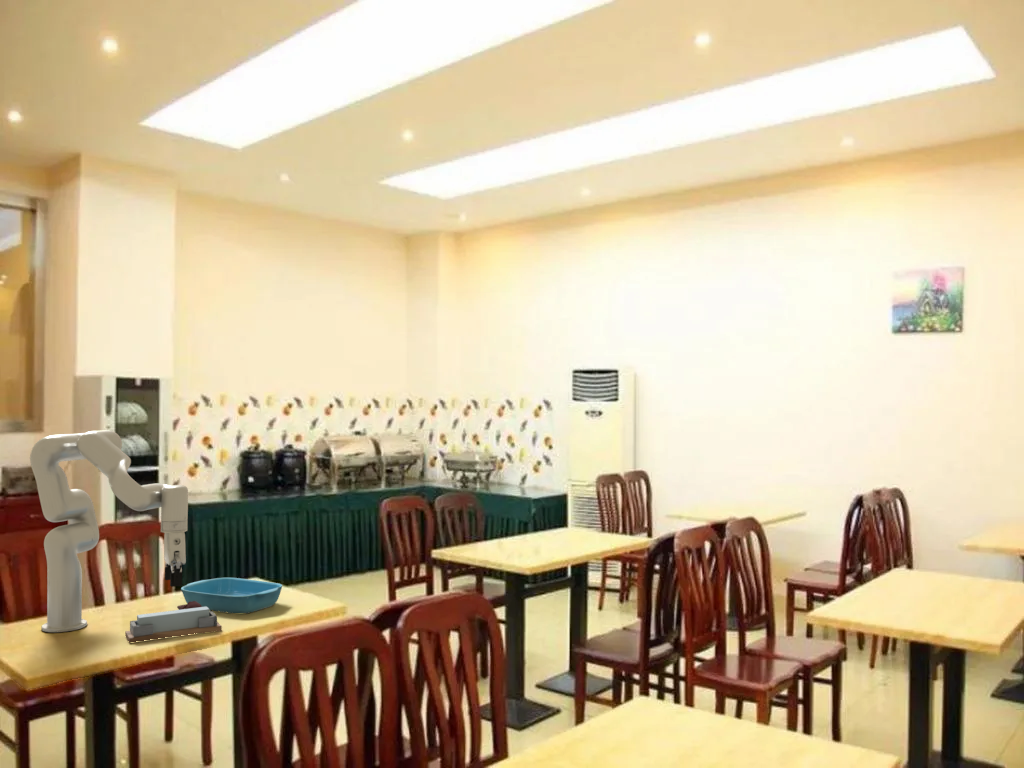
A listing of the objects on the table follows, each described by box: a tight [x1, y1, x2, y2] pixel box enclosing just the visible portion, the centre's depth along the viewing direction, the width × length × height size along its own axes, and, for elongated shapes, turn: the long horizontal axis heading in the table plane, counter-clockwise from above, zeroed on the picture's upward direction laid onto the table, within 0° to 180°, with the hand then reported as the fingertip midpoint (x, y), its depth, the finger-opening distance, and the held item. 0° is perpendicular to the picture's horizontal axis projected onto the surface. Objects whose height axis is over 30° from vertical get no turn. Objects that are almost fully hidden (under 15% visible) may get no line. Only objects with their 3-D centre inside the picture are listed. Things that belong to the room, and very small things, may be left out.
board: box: [124, 621, 223, 644], centre depth 259 cm, size 9×26×2 cm, turn 121°
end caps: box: [129, 610, 218, 637], centre depth 259 cm, size 8×24×3 cm, turn 121°
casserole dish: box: [180, 577, 283, 614], centre depth 294 cm, size 37×22×7 cm, turn 62°
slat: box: [136, 606, 210, 633], centre depth 259 cm, size 4×20×5 cm, turn 121°
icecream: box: [177, 601, 202, 610], centre depth 272 cm, size 7×7×15 cm
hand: (173, 582), depth 259 cm, fingers open, 9 cm apart
